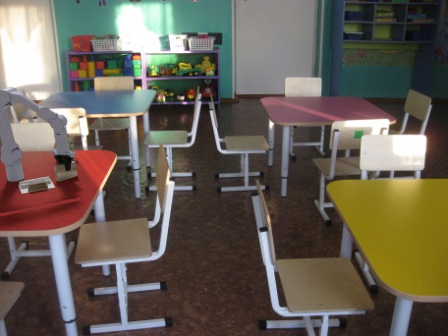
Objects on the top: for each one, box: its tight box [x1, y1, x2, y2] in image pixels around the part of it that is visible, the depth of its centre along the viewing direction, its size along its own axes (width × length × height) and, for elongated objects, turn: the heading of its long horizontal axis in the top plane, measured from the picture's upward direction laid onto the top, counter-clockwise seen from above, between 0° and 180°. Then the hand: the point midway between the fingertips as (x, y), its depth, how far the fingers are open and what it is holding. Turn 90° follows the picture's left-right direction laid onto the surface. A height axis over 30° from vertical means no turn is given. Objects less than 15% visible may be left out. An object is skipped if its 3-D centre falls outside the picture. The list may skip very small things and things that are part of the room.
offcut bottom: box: [28, 183, 48, 193], centre depth 205 cm, size 3×8×2 cm, turn 119°
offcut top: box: [28, 180, 46, 188], centre depth 204 cm, size 3×7×2 cm, turn 119°
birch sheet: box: [53, 161, 78, 182], centre depth 217 cm, size 3×10×7 cm, turn 147°
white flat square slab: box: [18, 176, 56, 195], centre depth 209 cm, size 14×14×3 cm
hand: (65, 170), depth 217 cm, fingers closed on birch sheet, 3 cm apart
